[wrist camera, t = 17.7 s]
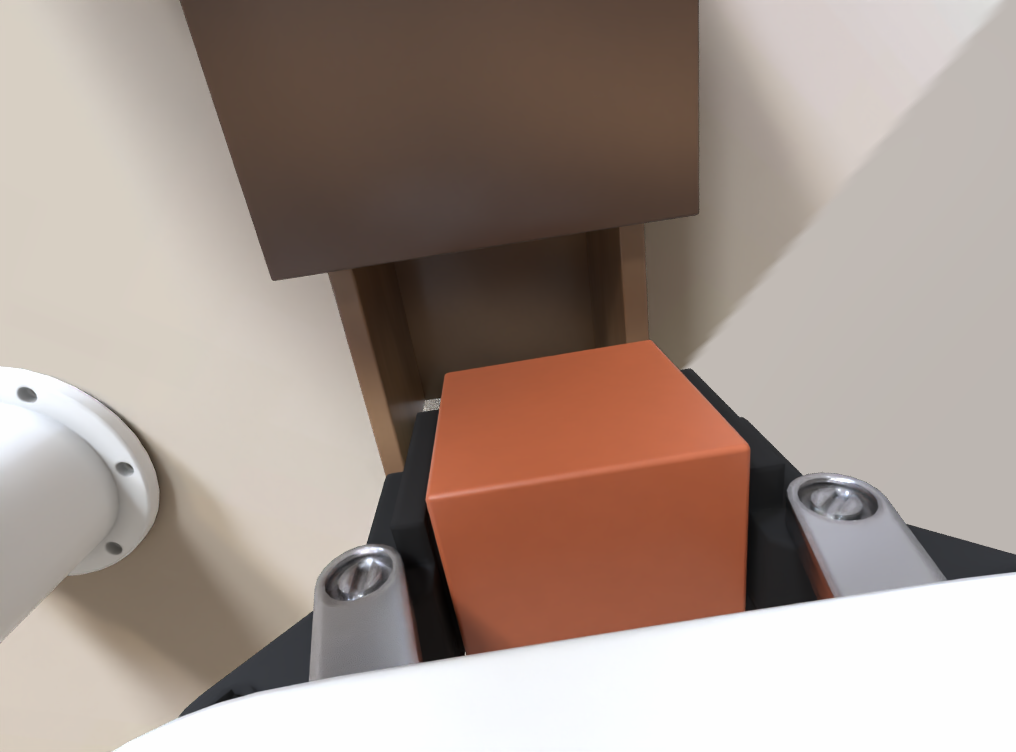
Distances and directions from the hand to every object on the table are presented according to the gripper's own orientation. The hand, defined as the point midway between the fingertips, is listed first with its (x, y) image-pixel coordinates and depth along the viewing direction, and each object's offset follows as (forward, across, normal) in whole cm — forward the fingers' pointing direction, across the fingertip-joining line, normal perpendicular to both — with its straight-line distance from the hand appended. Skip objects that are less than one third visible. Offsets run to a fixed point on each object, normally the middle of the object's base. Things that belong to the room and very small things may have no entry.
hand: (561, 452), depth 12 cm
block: (0, 0, 0) cm, 0 cm away
